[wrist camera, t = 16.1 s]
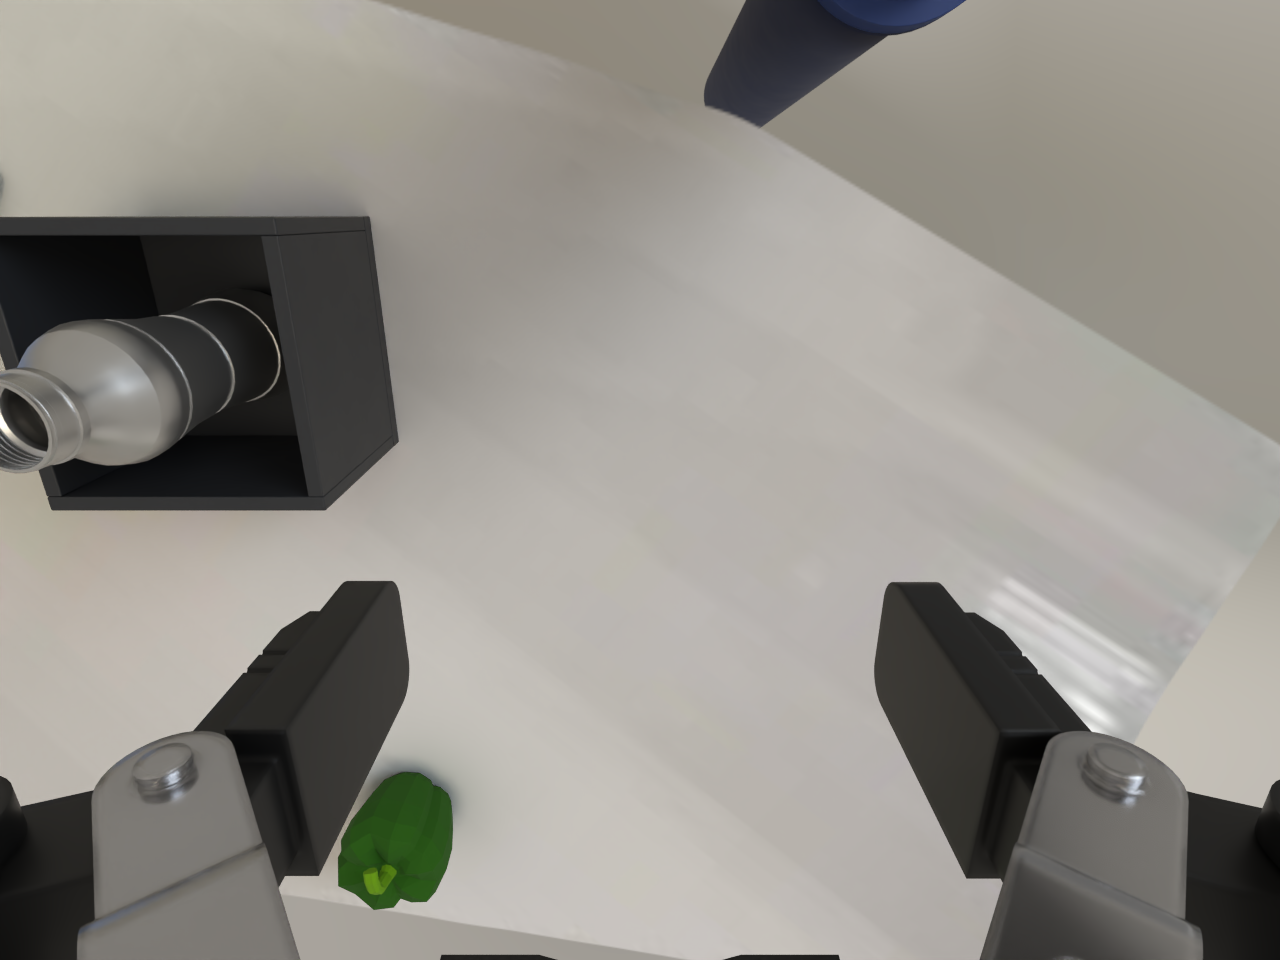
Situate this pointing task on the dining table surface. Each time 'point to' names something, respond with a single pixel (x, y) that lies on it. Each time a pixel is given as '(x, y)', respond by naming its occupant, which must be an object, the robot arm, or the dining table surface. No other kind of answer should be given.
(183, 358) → the plastic bottle
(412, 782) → the bell pepper
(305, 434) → the trash bin
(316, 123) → the dining table surface
